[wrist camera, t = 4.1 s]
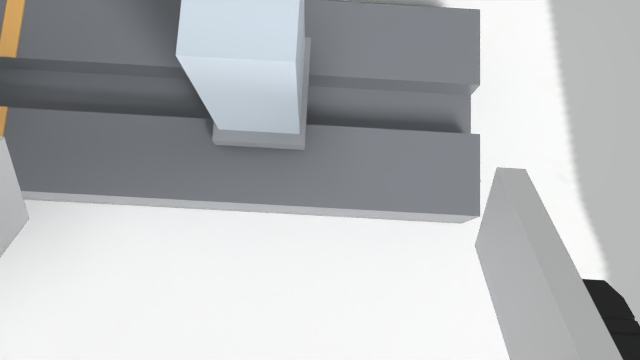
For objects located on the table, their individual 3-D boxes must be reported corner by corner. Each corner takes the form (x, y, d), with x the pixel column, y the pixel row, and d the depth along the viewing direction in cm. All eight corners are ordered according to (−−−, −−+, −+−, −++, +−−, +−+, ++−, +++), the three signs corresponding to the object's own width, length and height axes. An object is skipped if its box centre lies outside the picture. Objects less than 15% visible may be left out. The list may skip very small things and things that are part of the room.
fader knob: (220, 153, 26) (165, 71, 16) (229, 54, 27) (182, -84, 17) (304, 157, 26) (303, 79, 16) (310, 58, 27) (312, -76, 17)
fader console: (-102, 192, 27) (-153, 181, 24) (-66, 5, 29) (-109, -27, 26) (461, 223, 28) (480, 216, 25) (462, 36, 30) (480, 8, 26)
